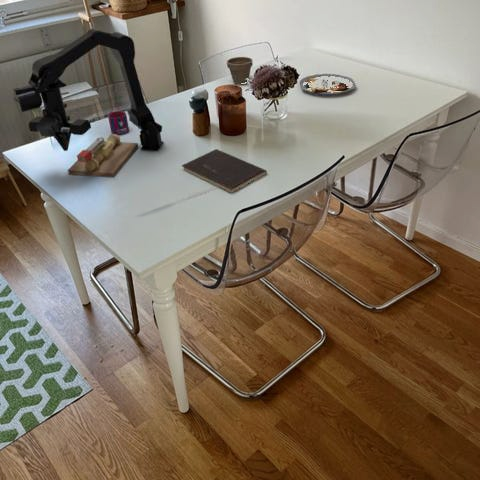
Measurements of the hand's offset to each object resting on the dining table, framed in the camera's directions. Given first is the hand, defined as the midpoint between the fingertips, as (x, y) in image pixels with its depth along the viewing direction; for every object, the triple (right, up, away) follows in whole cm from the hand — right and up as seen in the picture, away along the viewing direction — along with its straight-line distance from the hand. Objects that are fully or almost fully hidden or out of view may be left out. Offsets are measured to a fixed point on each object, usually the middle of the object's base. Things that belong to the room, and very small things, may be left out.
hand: (66, 150), depth 164 cm
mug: (+9, +13, +32) cm, 36 cm away
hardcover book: (+51, -7, +2) cm, 51 cm away
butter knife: (+37, -18, -11) cm, 43 cm away
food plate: (+93, +37, +58) cm, 116 cm away
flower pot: (+56, +42, +68) cm, 98 cm away
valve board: (+9, -1, +12) cm, 16 cm away
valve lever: (+7, 0, +4) cm, 9 cm away
